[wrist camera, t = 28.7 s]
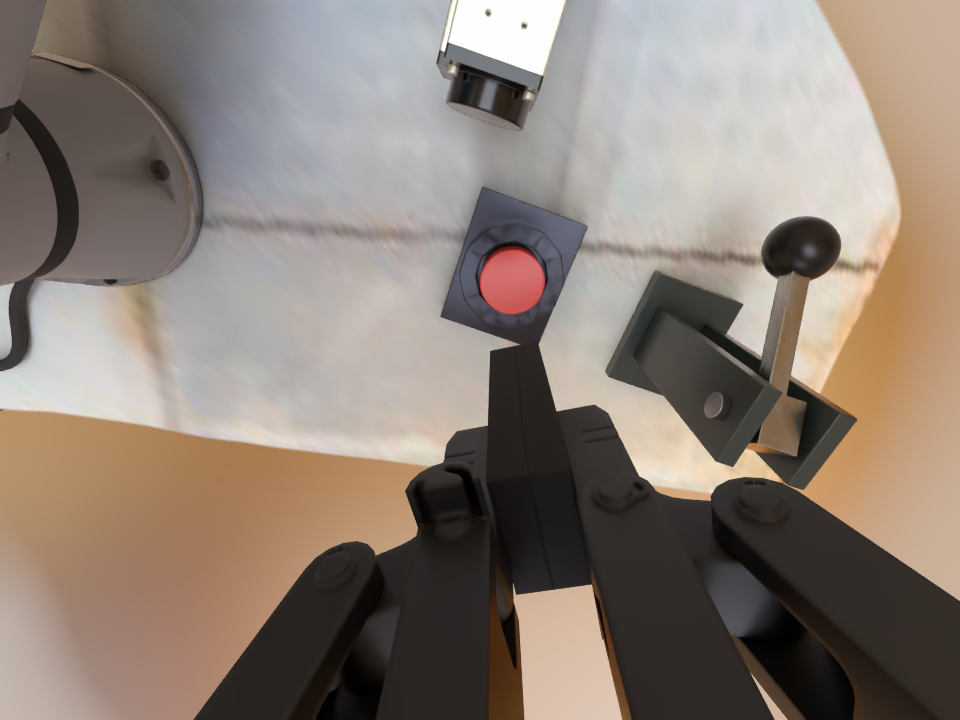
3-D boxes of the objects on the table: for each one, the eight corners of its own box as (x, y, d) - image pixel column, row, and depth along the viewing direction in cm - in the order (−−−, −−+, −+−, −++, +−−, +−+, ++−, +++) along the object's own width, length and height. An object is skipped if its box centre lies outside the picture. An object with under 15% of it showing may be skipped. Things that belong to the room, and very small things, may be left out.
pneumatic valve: (581, -59, 27) (639, -232, 16) (519, 144, 31) (530, 120, 20) (495, -91, 27) (493, -292, 15) (444, 119, 31) (413, 80, 20)
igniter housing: (483, 186, 32) (481, 186, 29) (583, 224, 33) (593, 228, 30) (442, 311, 36) (437, 323, 33) (534, 342, 37) (537, 358, 33)
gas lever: (753, 224, 27) (804, 194, 23) (805, 244, 27) (864, 218, 23) (705, 436, 24) (754, 439, 21) (763, 456, 25) (820, 462, 21)
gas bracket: (654, 270, 34) (773, 334, 19) (736, 300, 35) (910, 384, 20) (605, 371, 37) (674, 491, 23) (679, 397, 38) (794, 530, 23)
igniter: (492, 236, 31) (492, 240, 29) (551, 258, 31) (555, 262, 29) (472, 295, 32) (471, 302, 30) (528, 315, 33) (530, 323, 31)
